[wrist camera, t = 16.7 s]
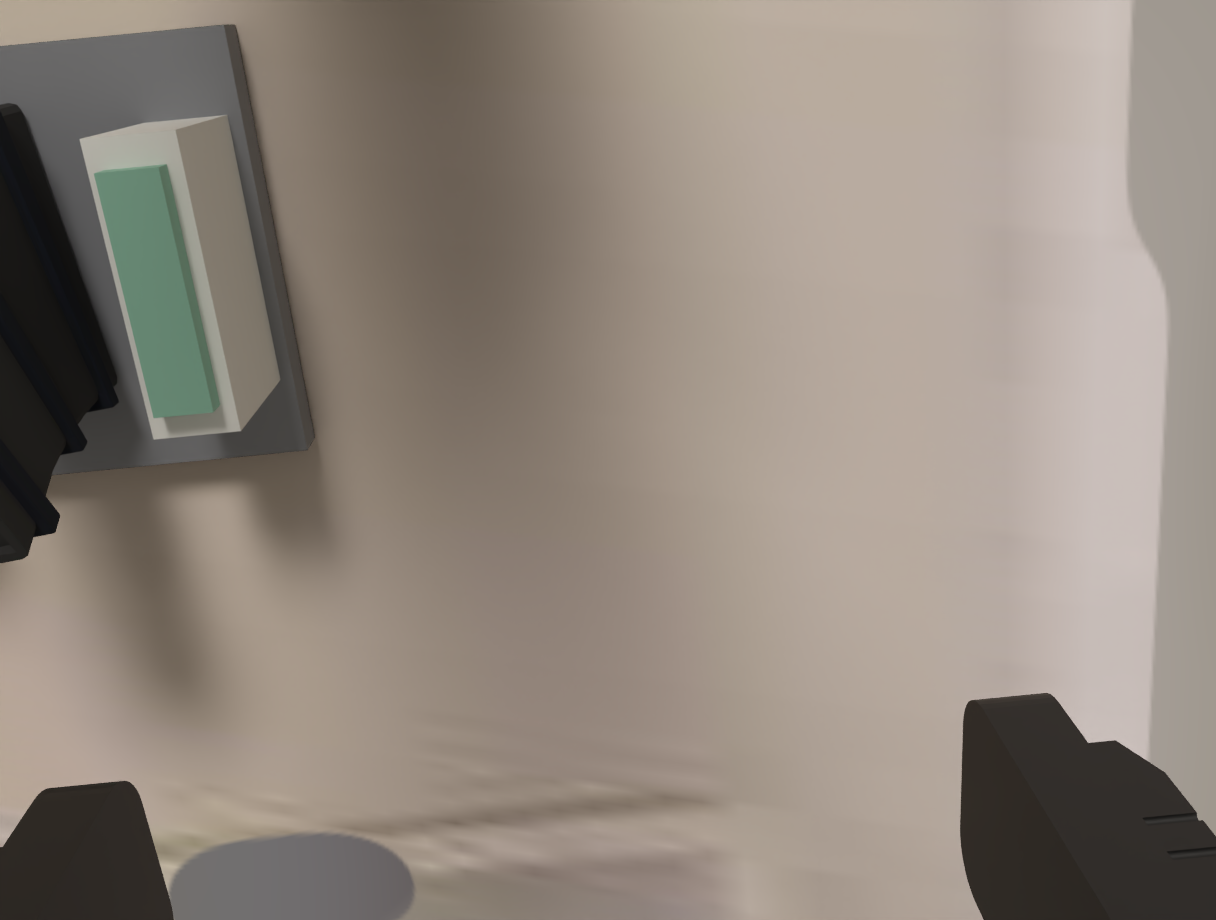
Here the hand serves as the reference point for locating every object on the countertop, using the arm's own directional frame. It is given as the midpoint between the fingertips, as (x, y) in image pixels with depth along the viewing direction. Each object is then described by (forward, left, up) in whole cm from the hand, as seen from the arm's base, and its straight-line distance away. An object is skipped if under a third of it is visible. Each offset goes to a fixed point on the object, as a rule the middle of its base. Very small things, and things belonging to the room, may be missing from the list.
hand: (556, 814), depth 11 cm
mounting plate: (0, -19, -36) cm, 41 cm away
